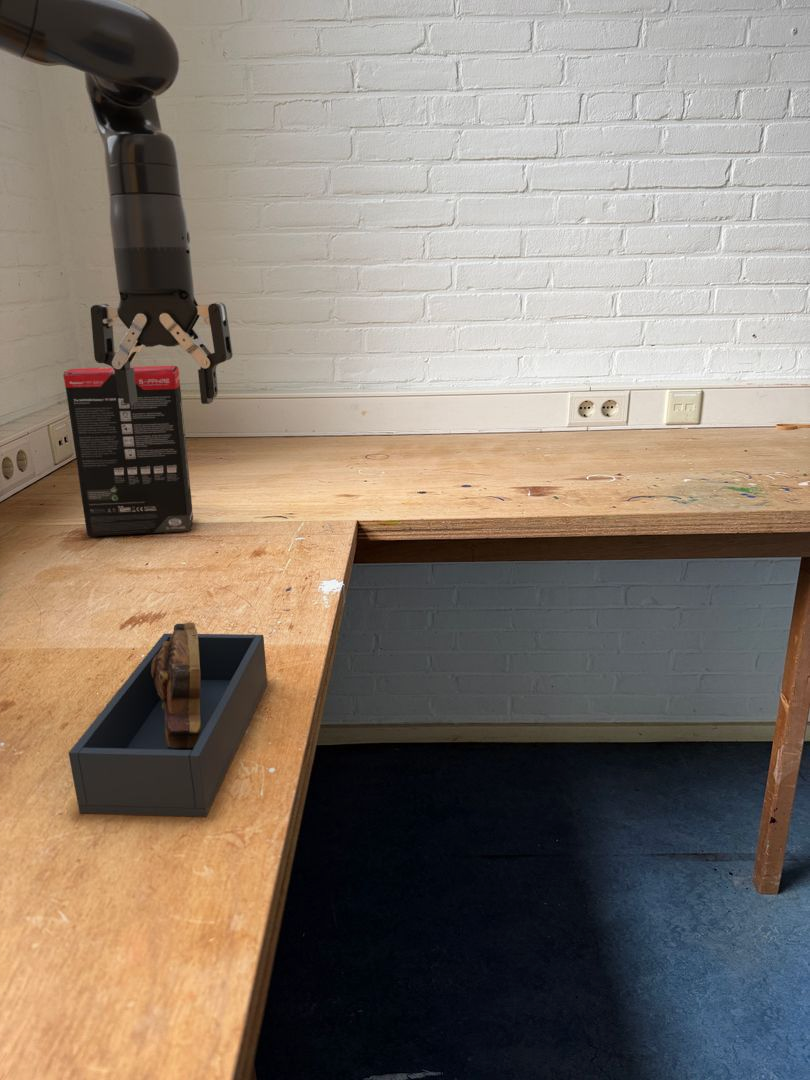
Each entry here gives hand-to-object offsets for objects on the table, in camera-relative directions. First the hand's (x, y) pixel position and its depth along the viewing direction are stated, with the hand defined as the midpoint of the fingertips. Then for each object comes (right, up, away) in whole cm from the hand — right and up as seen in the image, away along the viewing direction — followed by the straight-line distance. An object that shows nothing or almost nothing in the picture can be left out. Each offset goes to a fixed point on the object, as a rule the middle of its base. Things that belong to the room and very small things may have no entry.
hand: (169, 403), depth 87 cm
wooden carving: (+5, -33, -12) cm, 36 cm away
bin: (+5, -34, -12) cm, 36 cm away
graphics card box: (-19, -14, +48) cm, 54 cm away
